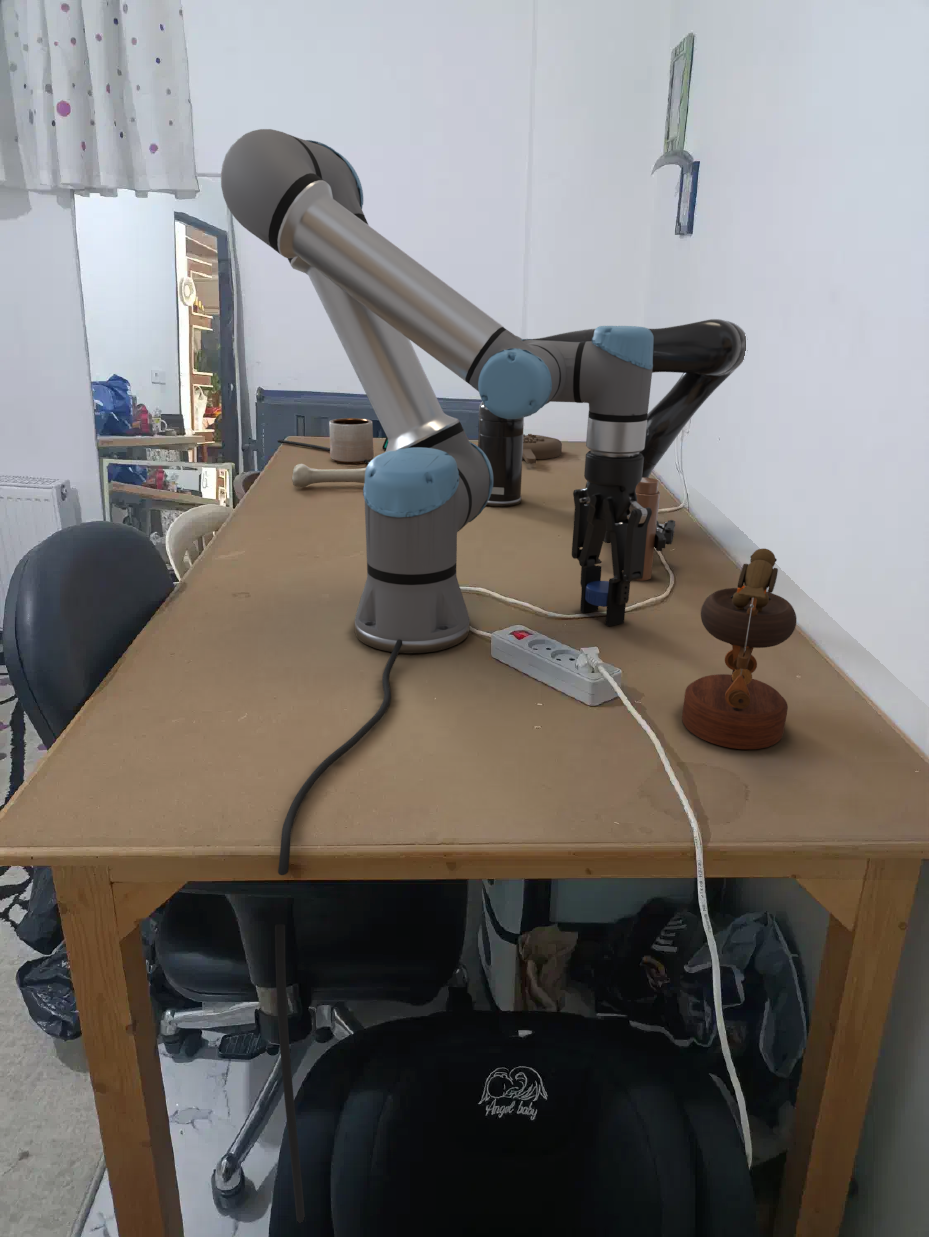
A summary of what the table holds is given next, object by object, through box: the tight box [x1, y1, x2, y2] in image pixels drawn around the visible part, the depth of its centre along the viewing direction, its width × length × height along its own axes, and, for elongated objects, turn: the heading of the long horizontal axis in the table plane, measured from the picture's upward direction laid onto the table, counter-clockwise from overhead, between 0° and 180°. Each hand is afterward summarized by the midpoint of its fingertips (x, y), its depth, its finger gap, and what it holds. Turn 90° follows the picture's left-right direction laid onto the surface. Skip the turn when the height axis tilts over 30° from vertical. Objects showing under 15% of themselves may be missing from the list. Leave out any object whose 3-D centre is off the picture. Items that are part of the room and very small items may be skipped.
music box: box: [681, 548, 797, 750], centre depth 88 cm, size 15×11×20 cm
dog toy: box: [291, 463, 367, 488], centre depth 187 cm, size 20×6×5 cm, turn 99°
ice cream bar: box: [522, 433, 563, 464], centre depth 219 cm, size 21×28×4 cm
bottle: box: [636, 477, 661, 582], centre depth 132 cm, size 4×4×16 cm
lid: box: [585, 580, 609, 608], centre depth 117 cm, size 5×5×2 cm
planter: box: [328, 417, 375, 464], centre depth 212 cm, size 11×11×10 cm
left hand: (601, 616), depth 119 cm, fingers closed on lid, 5 cm apart
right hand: (644, 544), depth 130 cm, fingers closed on bottle, 4 cm apart
